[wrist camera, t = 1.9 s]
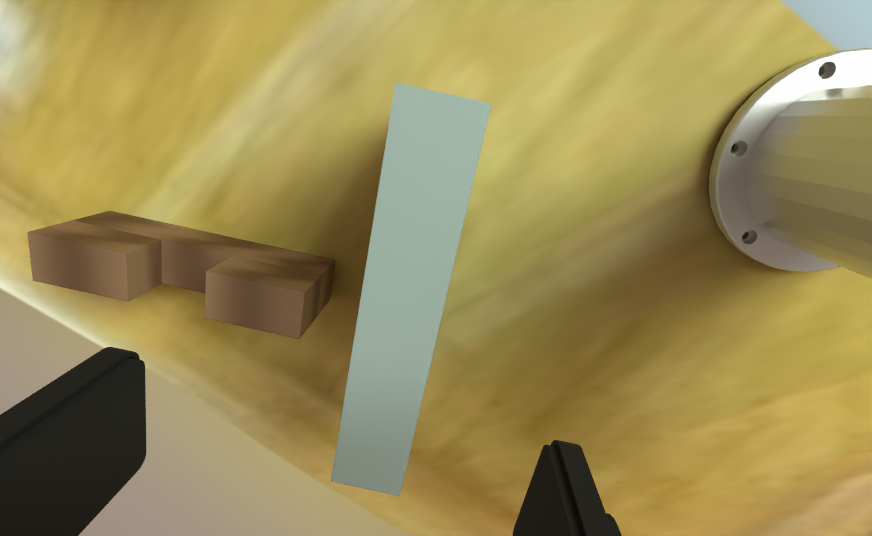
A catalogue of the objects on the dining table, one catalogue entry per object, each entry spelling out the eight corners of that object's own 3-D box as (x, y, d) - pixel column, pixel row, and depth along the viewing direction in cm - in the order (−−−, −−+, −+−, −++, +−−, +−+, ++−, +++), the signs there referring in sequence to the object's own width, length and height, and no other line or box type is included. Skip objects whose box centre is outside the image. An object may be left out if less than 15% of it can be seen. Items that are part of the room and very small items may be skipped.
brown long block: (335, 260, 30) (304, 292, 25) (329, 299, 31) (299, 338, 26) (109, 210, 30) (27, 232, 25) (111, 251, 31) (32, 280, 26)
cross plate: (431, 100, 27) (395, 82, 13) (479, 111, 27) (491, 103, 13) (387, 330, 32) (330, 481, 19) (428, 339, 32) (399, 496, 19)
